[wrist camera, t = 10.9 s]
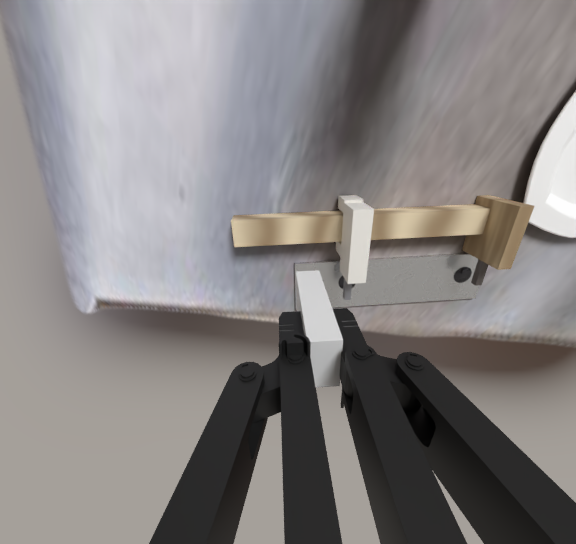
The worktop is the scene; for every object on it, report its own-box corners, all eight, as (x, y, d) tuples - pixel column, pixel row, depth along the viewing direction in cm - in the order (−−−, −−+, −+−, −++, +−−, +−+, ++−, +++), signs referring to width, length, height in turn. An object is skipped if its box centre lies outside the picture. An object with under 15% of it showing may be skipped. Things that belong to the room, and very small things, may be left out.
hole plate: (294, 263, 34) (294, 264, 33) (488, 252, 35) (490, 253, 35) (295, 308, 37) (295, 310, 36) (473, 296, 38) (475, 298, 38)
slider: (333, 287, 35) (345, 312, 30) (338, 195, 30) (353, 206, 25) (348, 286, 35) (362, 311, 30) (355, 195, 30) (374, 205, 25)
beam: (242, 286, 35) (237, 312, 29) (232, 206, 30) (224, 220, 25) (474, 272, 36) (510, 295, 31) (499, 194, 32) (546, 205, 26)
